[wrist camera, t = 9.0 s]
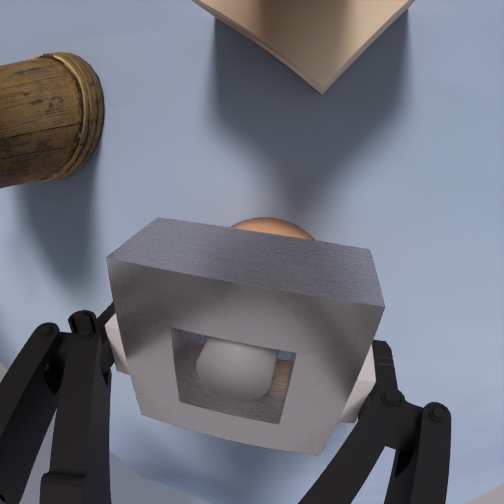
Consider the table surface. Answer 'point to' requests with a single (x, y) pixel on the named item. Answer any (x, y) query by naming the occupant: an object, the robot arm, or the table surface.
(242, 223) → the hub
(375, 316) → the square metal nut
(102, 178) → the table surface
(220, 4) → the stand
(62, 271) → the table surface
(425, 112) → the table surface
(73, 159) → the wooden mug
